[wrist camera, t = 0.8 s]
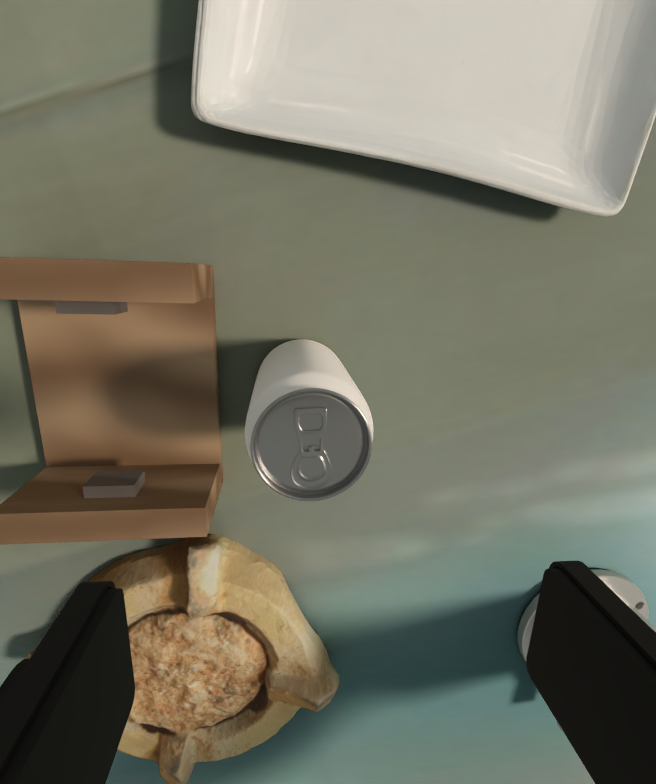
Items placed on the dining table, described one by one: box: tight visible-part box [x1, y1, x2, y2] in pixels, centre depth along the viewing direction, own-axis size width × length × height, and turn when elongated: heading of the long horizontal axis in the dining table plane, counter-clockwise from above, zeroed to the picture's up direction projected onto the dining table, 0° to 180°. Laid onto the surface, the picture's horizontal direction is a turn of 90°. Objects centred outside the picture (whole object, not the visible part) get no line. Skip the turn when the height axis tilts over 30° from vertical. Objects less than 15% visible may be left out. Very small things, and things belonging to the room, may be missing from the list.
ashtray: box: [27, 534, 340, 784], centre depth 34 cm, size 24×24×5 cm
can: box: [245, 339, 373, 501], centre depth 25 cm, size 6×6×12 cm
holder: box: [0, 257, 223, 544], centre depth 26 cm, size 16×12×7 cm
